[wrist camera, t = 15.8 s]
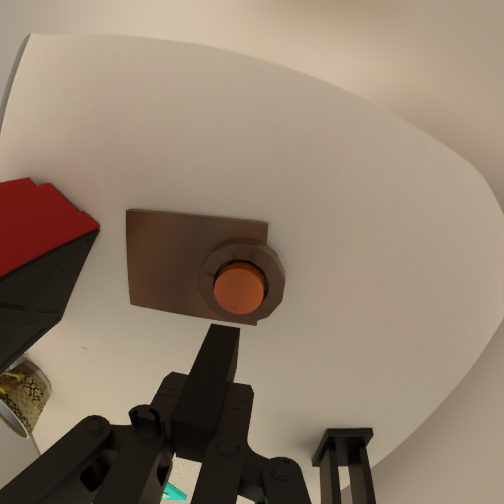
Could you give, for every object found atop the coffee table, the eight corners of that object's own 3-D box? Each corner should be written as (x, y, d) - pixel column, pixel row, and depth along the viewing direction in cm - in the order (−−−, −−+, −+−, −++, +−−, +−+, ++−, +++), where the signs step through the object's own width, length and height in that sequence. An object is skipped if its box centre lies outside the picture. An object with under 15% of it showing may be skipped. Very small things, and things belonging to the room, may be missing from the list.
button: (267, 264, 22) (266, 272, 20) (262, 307, 23) (260, 317, 21) (219, 258, 22) (215, 266, 21) (216, 301, 23) (212, 310, 22)
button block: (290, 225, 23) (291, 233, 20) (276, 324, 26) (275, 340, 23) (129, 208, 24) (114, 214, 21) (133, 301, 27) (121, 313, 24)
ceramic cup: (62, 410, 36) (34, 448, 26) (20, 379, 35) (-10, 411, 26) (56, 361, 31) (16, 404, 22) (10, 327, 31) (-31, 360, 22)
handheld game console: (188, 496, 40) (187, 501, 39) (133, 492, 44) (132, 497, 43) (155, 472, 38) (153, 478, 37) (102, 469, 42) (100, 473, 40)
